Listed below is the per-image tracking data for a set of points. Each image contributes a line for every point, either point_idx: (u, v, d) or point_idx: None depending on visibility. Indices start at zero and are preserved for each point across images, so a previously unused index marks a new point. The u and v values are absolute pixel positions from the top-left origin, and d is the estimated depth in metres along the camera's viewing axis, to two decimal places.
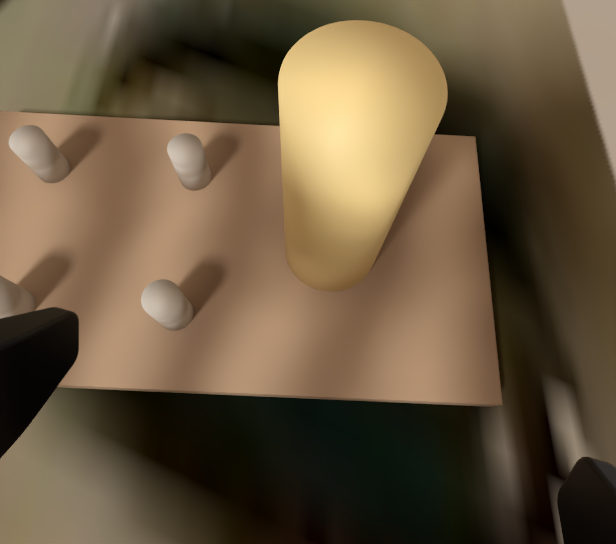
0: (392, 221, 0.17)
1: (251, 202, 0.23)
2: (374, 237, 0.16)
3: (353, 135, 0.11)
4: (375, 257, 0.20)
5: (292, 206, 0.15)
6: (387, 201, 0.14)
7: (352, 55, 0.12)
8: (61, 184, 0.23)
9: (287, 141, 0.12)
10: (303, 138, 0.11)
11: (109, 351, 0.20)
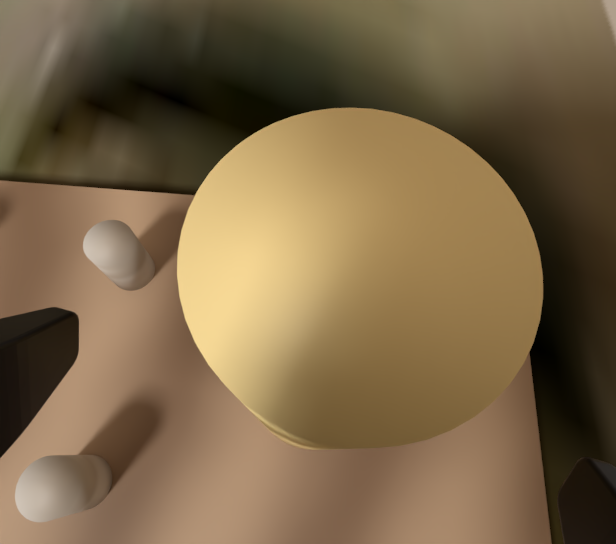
0: None
1: None
2: None
3: (336, 387, 0.05)
4: None
5: None
6: None
7: (340, 184, 0.06)
8: None
9: None
10: None
11: None
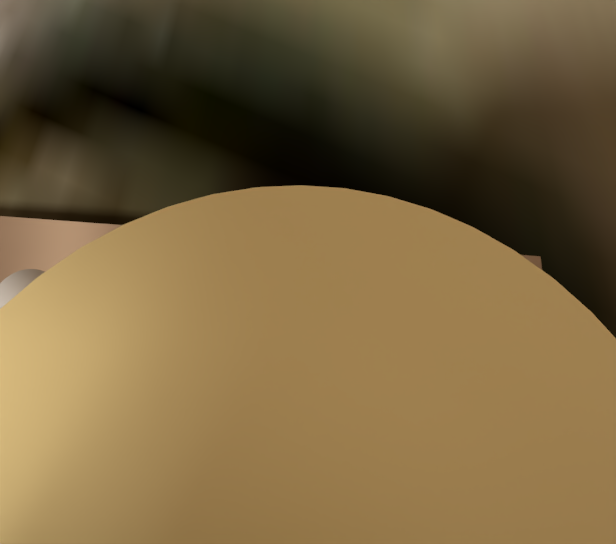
0: None
1: None
2: None
3: None
4: None
5: None
6: None
7: (262, 380, 0.03)
8: None
9: None
10: None
11: None
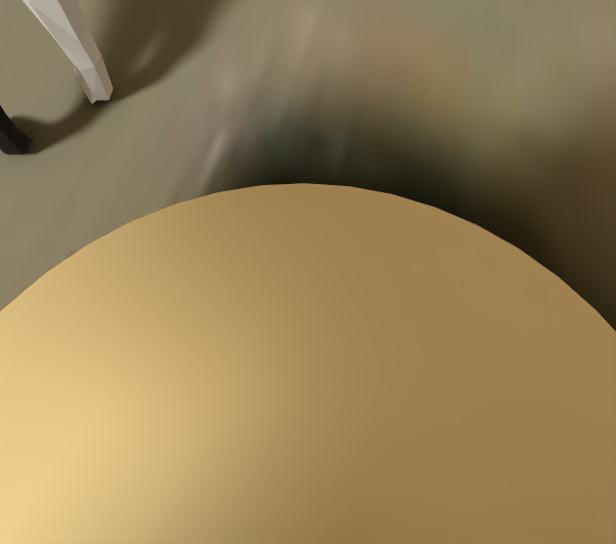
0: None
1: None
2: None
3: None
4: None
5: None
6: None
7: (268, 375, 0.03)
8: None
9: None
10: None
11: None
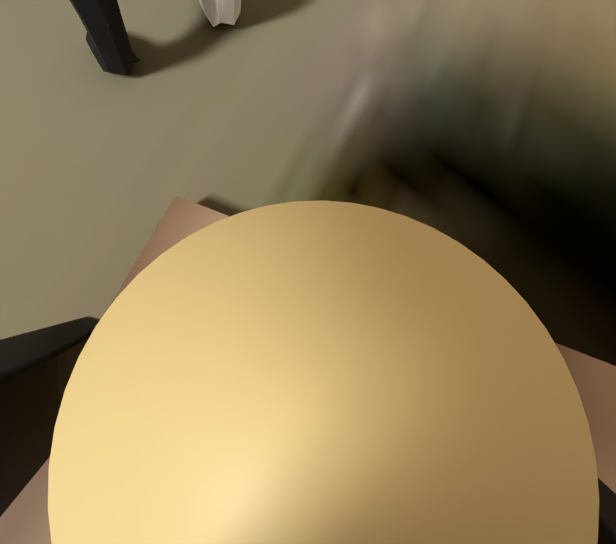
0: None
1: None
2: None
3: None
4: None
5: None
6: None
7: (303, 315, 0.04)
8: None
9: None
10: None
11: None
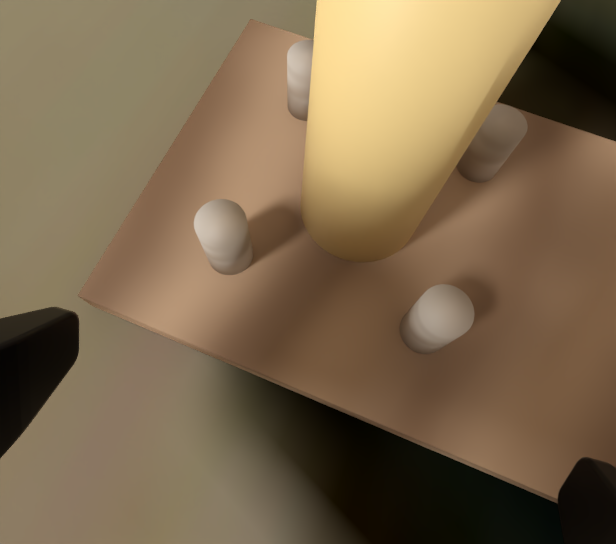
0: (466, 148, 0.11)
1: (543, 218, 0.17)
2: (441, 168, 0.11)
3: None
4: None
5: (326, 110, 0.10)
6: (485, 89, 0.09)
7: None
8: None
9: None
10: None
11: (329, 351, 0.15)
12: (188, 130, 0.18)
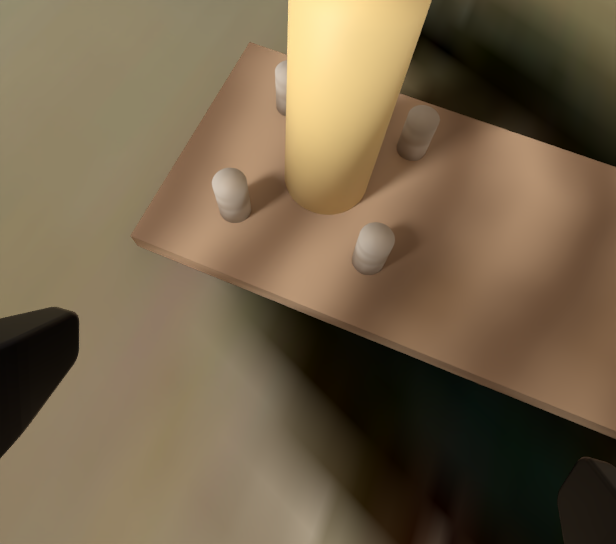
0: (382, 132, 0.18)
1: (456, 186, 0.24)
2: (366, 144, 0.18)
3: (351, 16, 0.13)
4: (366, 179, 0.22)
5: (294, 107, 0.17)
6: (377, 96, 0.16)
7: None
8: None
9: (293, 28, 0.14)
10: (308, 17, 0.13)
11: (303, 272, 0.22)
12: (204, 123, 0.25)
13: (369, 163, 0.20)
